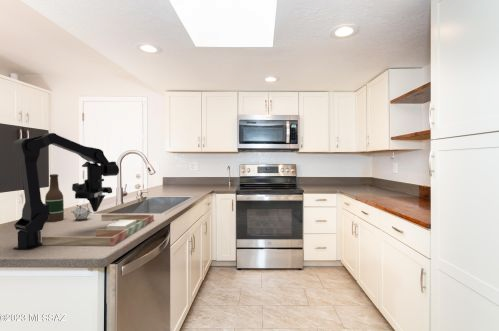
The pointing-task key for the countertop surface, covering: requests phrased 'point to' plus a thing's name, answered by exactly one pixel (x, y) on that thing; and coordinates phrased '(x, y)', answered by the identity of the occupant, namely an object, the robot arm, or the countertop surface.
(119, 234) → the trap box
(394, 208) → the countertop surface
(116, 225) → the white rectangular box
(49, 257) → the countertop surface
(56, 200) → the beer bottle
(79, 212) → the geometric wire polyhedron
